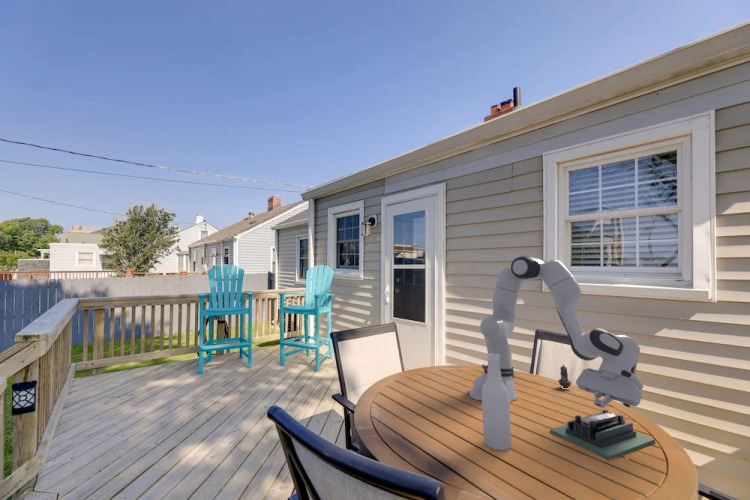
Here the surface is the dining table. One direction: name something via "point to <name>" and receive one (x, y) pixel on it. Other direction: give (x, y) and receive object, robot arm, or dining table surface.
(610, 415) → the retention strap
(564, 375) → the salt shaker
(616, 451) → the circuit board
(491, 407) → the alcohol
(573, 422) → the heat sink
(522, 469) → the dining table surface
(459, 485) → the dining table surface
